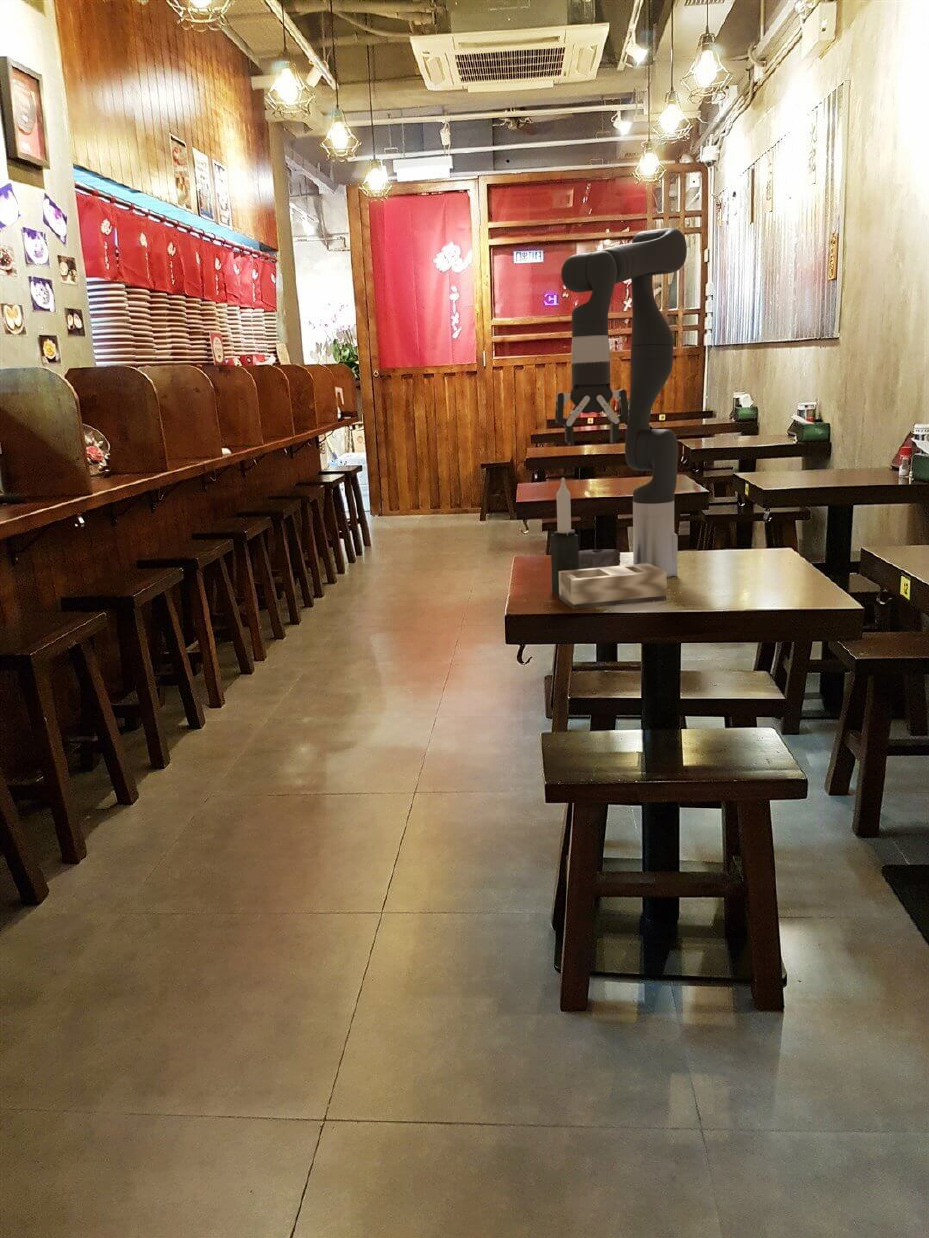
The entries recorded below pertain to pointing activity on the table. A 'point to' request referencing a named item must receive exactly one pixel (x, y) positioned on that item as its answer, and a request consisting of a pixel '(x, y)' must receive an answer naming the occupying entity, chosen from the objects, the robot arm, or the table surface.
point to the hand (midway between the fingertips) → (591, 444)
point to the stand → (612, 585)
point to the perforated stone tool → (598, 558)
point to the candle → (563, 539)
